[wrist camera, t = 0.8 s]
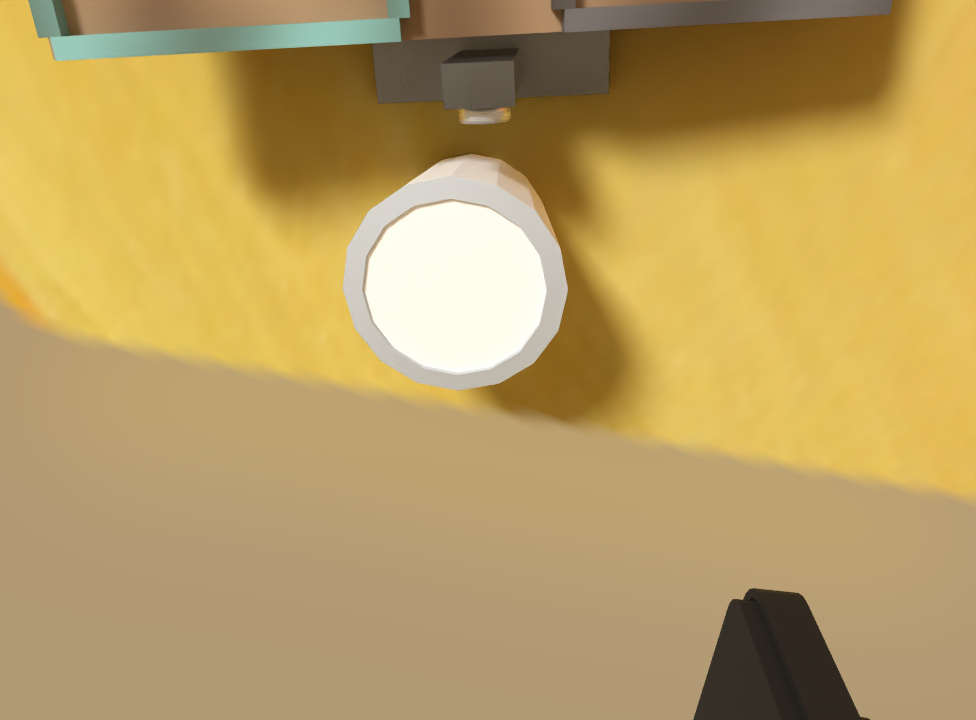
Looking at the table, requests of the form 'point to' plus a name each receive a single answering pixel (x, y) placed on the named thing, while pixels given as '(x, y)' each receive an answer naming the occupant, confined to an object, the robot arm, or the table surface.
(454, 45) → the pivot stand
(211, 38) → the balance beam board
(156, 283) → the table surface
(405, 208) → the cup of milk
